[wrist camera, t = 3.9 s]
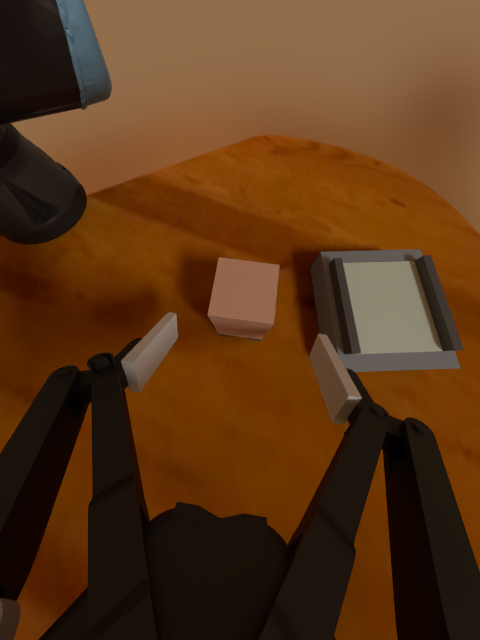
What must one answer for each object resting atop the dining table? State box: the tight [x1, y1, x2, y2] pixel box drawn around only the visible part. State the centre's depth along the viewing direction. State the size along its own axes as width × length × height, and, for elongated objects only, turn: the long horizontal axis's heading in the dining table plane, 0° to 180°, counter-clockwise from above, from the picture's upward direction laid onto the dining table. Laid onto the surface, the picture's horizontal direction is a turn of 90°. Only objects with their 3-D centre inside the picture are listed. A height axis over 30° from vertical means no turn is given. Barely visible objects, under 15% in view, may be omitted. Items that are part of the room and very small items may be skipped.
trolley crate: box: [208, 257, 279, 341], centre depth 22 cm, size 6×6×10 cm
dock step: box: [310, 249, 463, 372], centre depth 24 cm, size 16×14×6 cm
